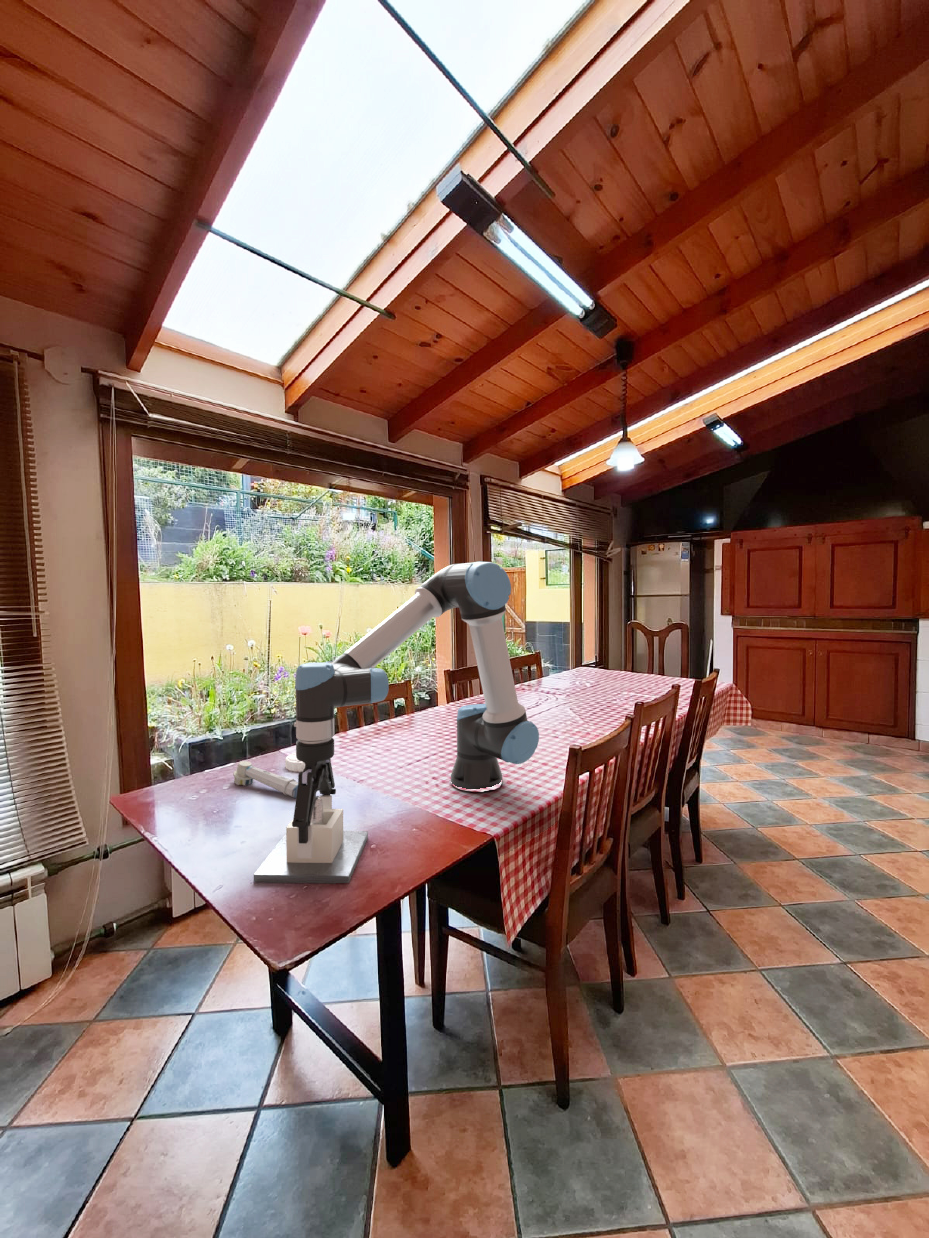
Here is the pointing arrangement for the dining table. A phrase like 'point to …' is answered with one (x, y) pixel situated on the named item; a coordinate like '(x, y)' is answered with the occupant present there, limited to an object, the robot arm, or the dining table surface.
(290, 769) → the mooncake
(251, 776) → the toothbrush head
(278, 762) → the dining table surface
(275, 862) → the post base
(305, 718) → the robot arm
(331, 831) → the collar
